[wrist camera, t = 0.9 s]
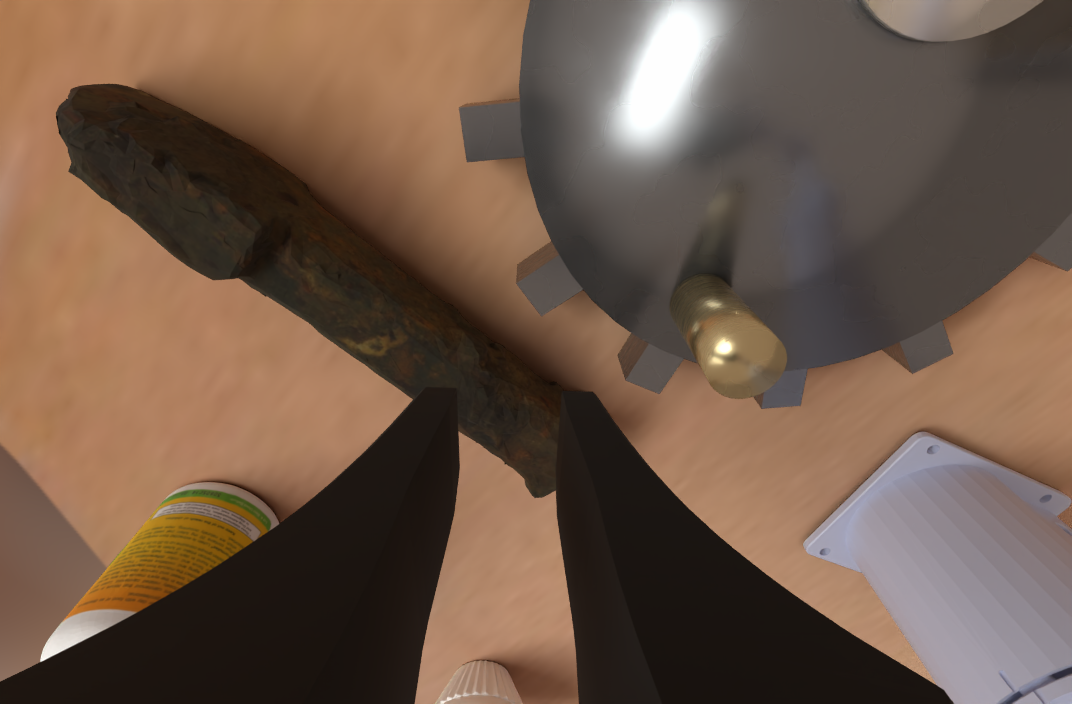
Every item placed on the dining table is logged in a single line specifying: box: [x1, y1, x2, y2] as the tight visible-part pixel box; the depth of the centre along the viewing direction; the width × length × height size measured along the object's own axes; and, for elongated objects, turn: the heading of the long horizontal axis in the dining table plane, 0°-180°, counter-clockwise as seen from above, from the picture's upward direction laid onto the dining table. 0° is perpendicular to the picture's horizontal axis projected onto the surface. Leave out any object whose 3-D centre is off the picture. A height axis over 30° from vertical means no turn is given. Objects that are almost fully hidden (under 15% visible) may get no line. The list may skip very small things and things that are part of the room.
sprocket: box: [459, 0, 1072, 409], centre depth 13 cm, size 20×20×6 cm
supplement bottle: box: [40, 482, 279, 662], centre depth 20 cm, size 5×5×10 cm
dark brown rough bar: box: [56, 84, 564, 498], centre depth 17 cm, size 19×4×5 cm, turn 44°
